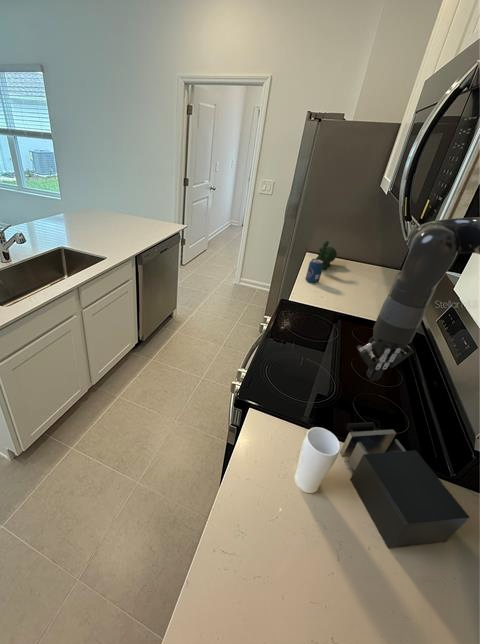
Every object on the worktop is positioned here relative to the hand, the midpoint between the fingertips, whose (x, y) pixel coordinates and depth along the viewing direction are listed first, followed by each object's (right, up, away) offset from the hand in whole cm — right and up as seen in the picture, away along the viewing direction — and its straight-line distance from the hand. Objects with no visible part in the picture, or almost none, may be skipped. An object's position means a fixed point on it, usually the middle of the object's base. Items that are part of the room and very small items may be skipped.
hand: (372, 378), depth 74 cm
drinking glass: (-17, -23, -3) cm, 29 cm away
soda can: (+21, +30, +92) cm, 99 cm away
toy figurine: (+35, +40, +111) cm, 123 cm away
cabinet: (0, -26, -8) cm, 27 cm away
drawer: (-1, -21, -1) cm, 21 cm away
